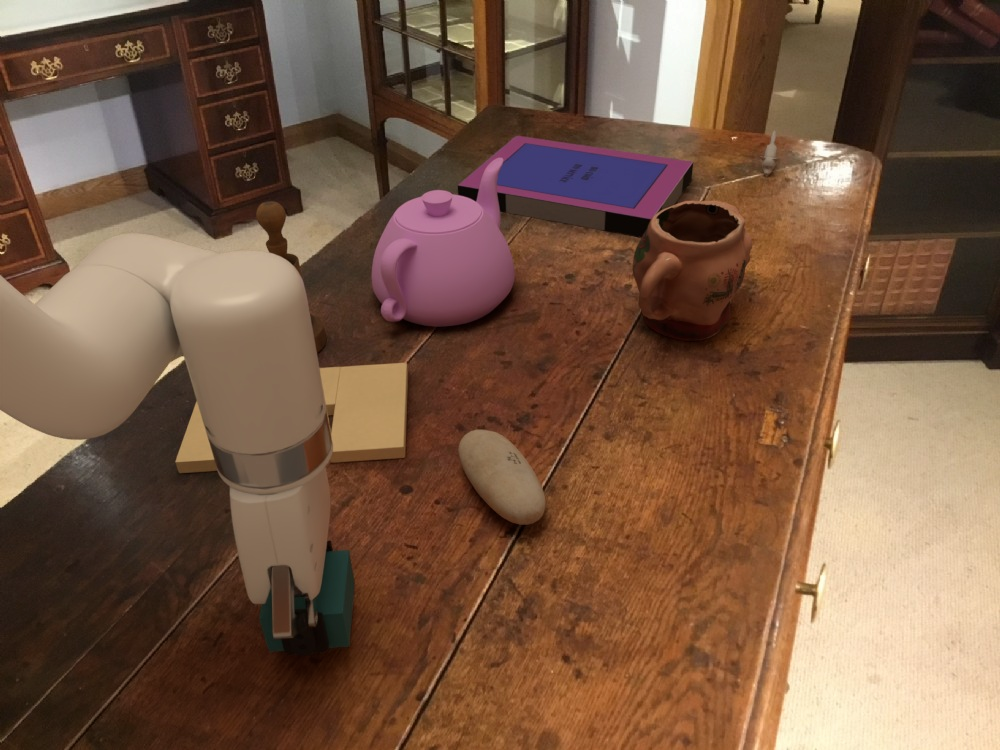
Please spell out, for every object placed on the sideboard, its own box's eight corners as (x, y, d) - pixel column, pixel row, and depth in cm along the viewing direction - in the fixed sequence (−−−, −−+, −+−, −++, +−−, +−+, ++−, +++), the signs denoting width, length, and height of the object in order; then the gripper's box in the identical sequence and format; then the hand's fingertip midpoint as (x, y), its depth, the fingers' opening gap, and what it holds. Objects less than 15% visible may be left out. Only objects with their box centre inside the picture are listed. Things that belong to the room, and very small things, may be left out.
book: (516, 135, 142) (693, 161, 131) (516, 152, 144) (691, 180, 133) (457, 185, 127) (652, 219, 116) (458, 203, 129) (650, 239, 118)
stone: (494, 421, 83) (570, 458, 74) (488, 482, 85) (562, 526, 75) (442, 426, 80) (515, 465, 71) (438, 489, 82) (508, 536, 72)
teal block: (268, 652, 64) (258, 618, 61) (280, 587, 68) (271, 554, 66) (349, 646, 64) (342, 613, 61) (355, 583, 69) (349, 549, 66)
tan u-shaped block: (178, 473, 83) (174, 462, 82) (208, 385, 94) (205, 375, 93) (405, 458, 84) (403, 446, 83) (408, 373, 95) (406, 362, 94)
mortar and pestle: (267, 334, 102) (235, 195, 91) (322, 324, 103) (296, 186, 92) (273, 365, 97) (239, 222, 86) (330, 354, 98) (303, 211, 87)
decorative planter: (696, 389, 91) (711, 275, 82) (594, 355, 96) (599, 246, 88) (760, 302, 104) (779, 197, 96) (667, 277, 110) (677, 175, 101)
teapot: (450, 361, 96) (442, 254, 88) (332, 318, 104) (314, 216, 96) (558, 265, 113) (560, 167, 105) (449, 234, 121) (442, 141, 113)
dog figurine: (754, 184, 136) (756, 167, 131) (762, 140, 138) (765, 121, 132) (775, 187, 135) (778, 170, 130) (783, 141, 137) (786, 123, 132)
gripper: (237, 361, 62) (279, 532, 73) (181, 542, 48) (244, 719, 59) (341, 356, 62) (367, 527, 73) (316, 534, 48) (353, 711, 59)
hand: (312, 611), depth 66 cm, fingers closed on teal block, 6 cm apart
